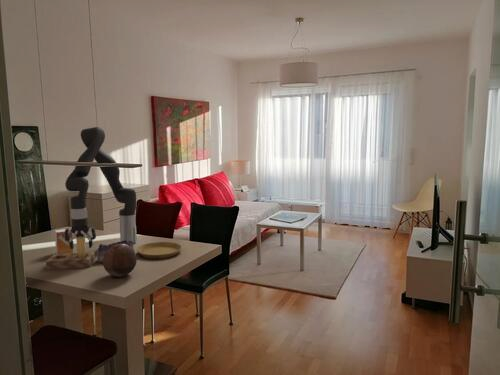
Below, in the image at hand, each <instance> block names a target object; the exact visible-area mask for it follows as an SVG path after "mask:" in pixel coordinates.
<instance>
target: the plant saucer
mask: <svg viewBox="0 0 500 375" xmlns="http://www.w3.org/2000/svg"><path fill="white" fill-rule="evenodd" d="M181 250H182V245H180V244H179V243H176V242H172V241H159V242H158V241H157V242H156V241H155V242H149V243H145V244H142V245H140V246H138V247H137V249H136V251H137V253H138V254H139V255H140V256H141V257H144V258H147V259H152V258H155V259H156V260H157V258H159V259H167V258H171V257H173V256H176V255H177V254H178V253H179V252H180V251H181ZM166 257H167V258H166Z"/></svg>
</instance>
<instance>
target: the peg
mask: <svg viewBox="0 0 500 375" xmlns="http://www.w3.org/2000/svg"><path fill="white" fill-rule="evenodd" d="M75 238H76V253H77V257H78V258H86V253H87V250H86V248H87V247H86V237H85V236H84V237H76V236H75Z"/></svg>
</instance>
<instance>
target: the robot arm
mask: <svg viewBox="0 0 500 375" xmlns="http://www.w3.org/2000/svg"><path fill="white" fill-rule="evenodd" d="M80 138H81V141H82V143H83V145H84V147H86V149H85V150H84V152H82V153H81V155H80V156H79V157H78V159H77V161H76V163H77V162H94V161H95V162H96V164H97V163H116V164H117V162H116V160H115V159H114V157H112V156H111V155H110V154H108V153H106V152H105V151H104V150H103V149H101V147H102V146H103V144H104V142H105V139H106V135H105V130H104V129H103V128H102V127H100V126H93V127H88V128H84V129H82V130H81V131H80ZM91 168H92V165H91V166H76V165H75V166H74V169H73V170H72V172H71V173H70V174H69V175H68V177H67V178H66V179H65V184H64V186H65V188H66V190H67V191H68V192H79V193H78V195H74V196H72V197H71V198H70V221H71V228H69V227H68V228H67V227H66V228H65V229H66V230H65V241H69V243H70V248H71V249H73V250H74V249H75V246H74V241H73V240H74V239H75V238H76V237H84V236H85V239H87V240H88V248H89V249H91V248H92V247H93V245H94V244H93V241H94V240H95V239H96V238H97V236H96V235H97V234H96V228H95V226H92V227H89V223H88V221H89V219H88V210H87V196H88V189H89V187H90V183H89V180H88V179H87V177H88V176H89V174H90V171H91ZM99 169H100V171H101V173H102V174H103V176H104V178H105V179H106V181H107V183H108V184H109V187H110V189H111V191H112V193H113V196H114V199H116V201H117V202H118V203H120V204H124V208H121V209H119V212H118V216H119V218H118V219H119V234H120V236H119V238H120V240H119V242H120V241H125V240H127V242H128V241H133V243H134V244H136V243H137V240H138V236H137V225H136V224H137V223H136V210H137V194H136V191H135V189H133V188H131V187H130V188H129V187H124V186H123V185H122V183H121V181H120V175H121V174H120V167H119V166H118V167H99ZM70 231H71V232H72V237H71V238H69V233H70ZM89 232H90V233H91V235H90V234H89Z"/></svg>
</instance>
